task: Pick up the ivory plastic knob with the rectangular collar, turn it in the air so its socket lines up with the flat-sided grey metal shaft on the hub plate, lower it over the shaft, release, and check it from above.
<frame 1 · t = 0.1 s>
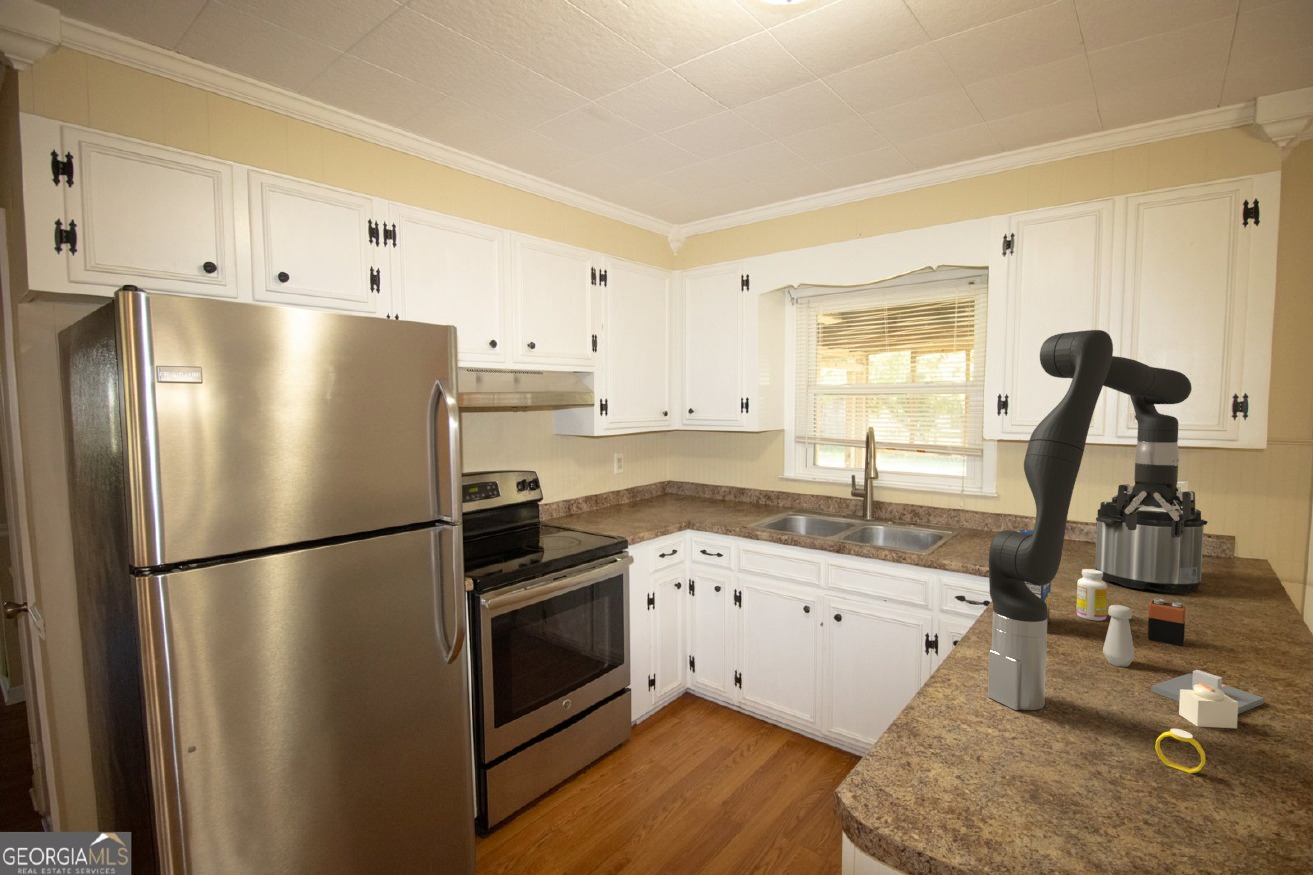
hand: (1153, 533, 138), 29 cm above the countertop, fingers open, 8 cm apart
salt shaker: (1118, 663, 138), on the countertop
knob: (1207, 721, 112), on the countertop
supplement bottle: (1091, 618, 167), on the countertop
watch: (1179, 769, 98), on the countertop
hub plate: (1206, 697, 121), on the countertop
juice carton: (1028, 624, 163), on the countertop
pressure cooker: (1143, 583, 200), on the countertop
battery: (1165, 641, 151), on the countertop
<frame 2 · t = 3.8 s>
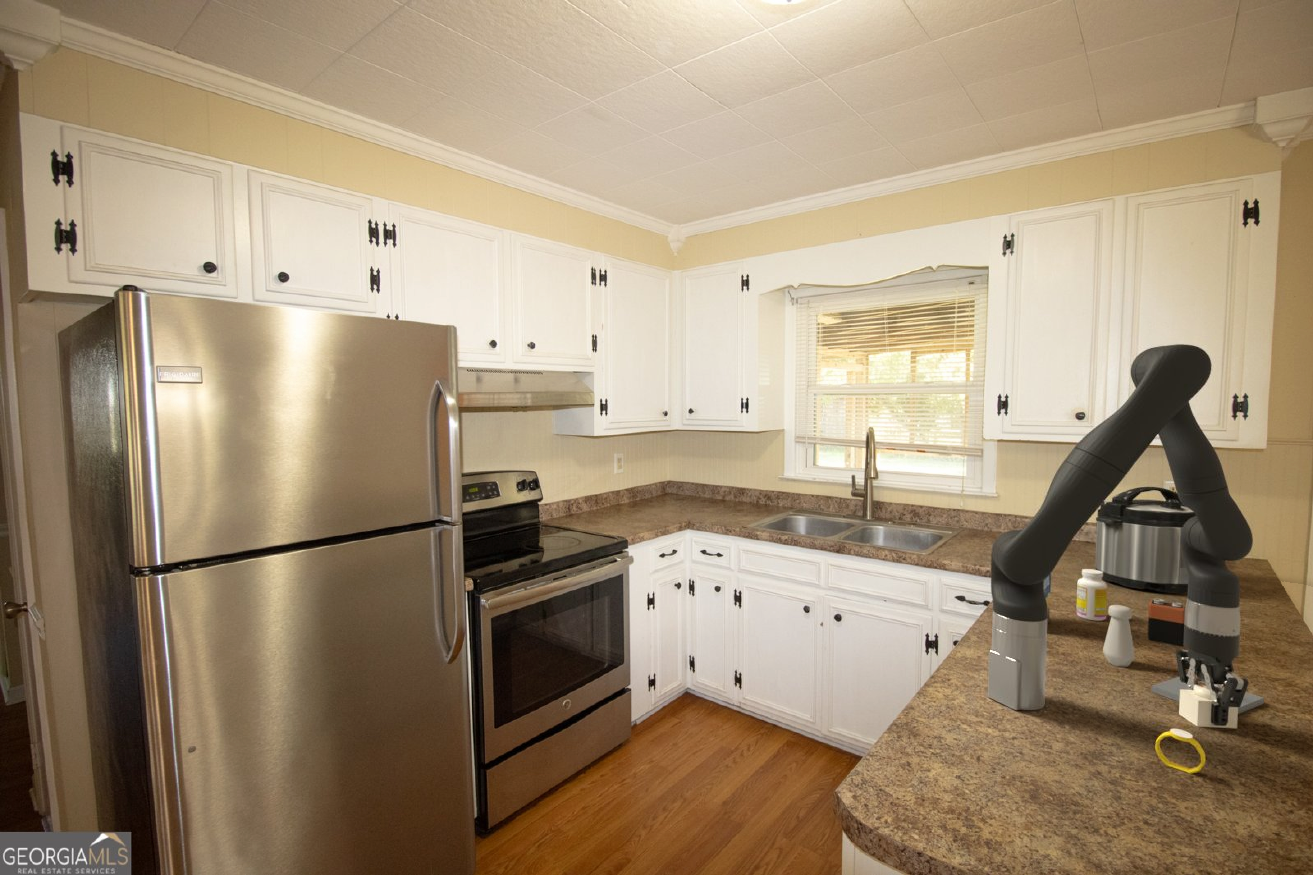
hand: (1207, 717, 112), 1 cm above the countertop, fingers closed on knob, 4 cm apart
knob: (1207, 721, 112), on the countertop, touching gripper
everything else where it was.
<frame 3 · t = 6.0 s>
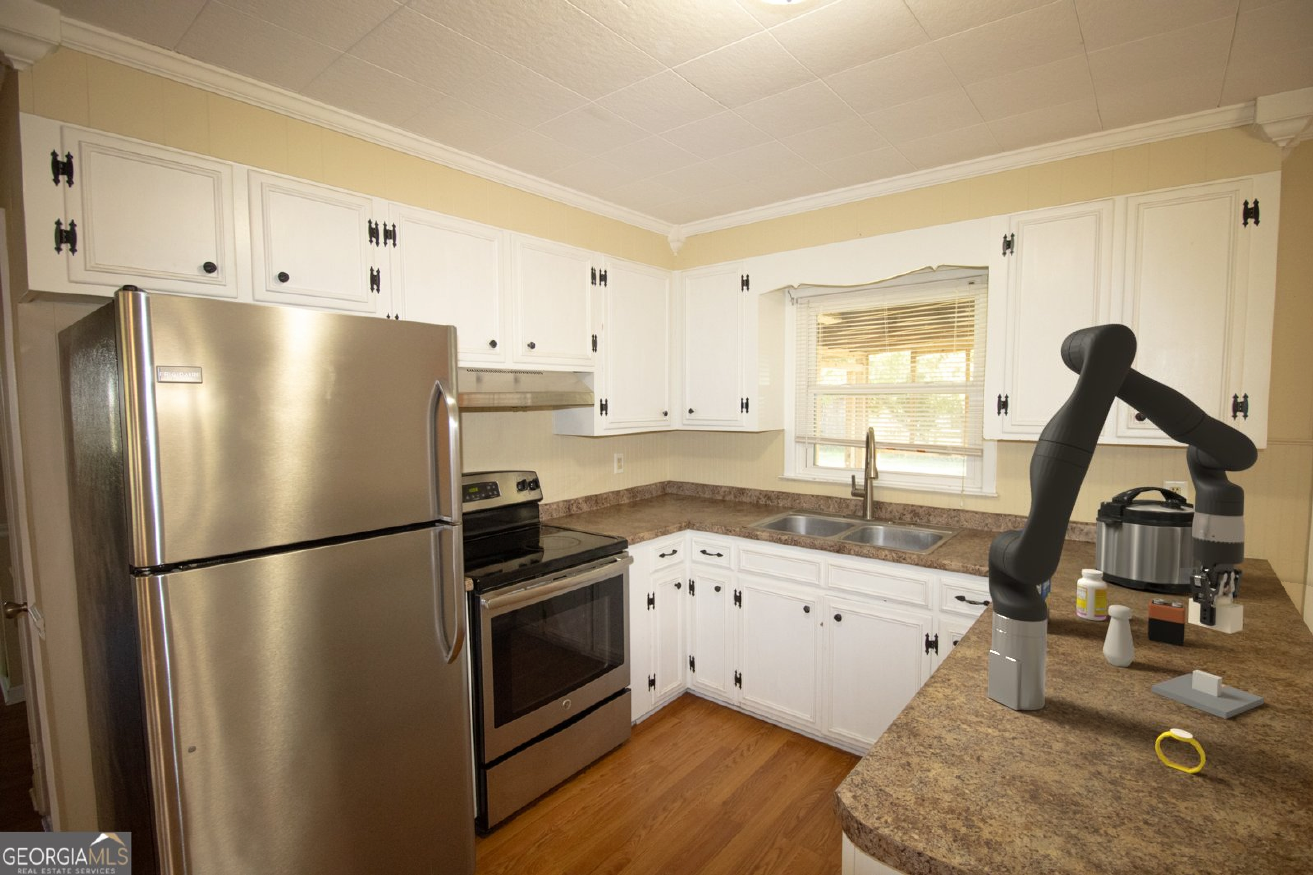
hand: (1214, 622, 119), 16 cm above the countertop, fingers closed on knob, 4 cm apart
knob: (1214, 626, 119), point 15 cm above the countertop, touching gripper
everything else where it was.
when the fingers open (3 cm above the countertop, at t = 8.3 s): knob stays where it is, resting on hub plate.
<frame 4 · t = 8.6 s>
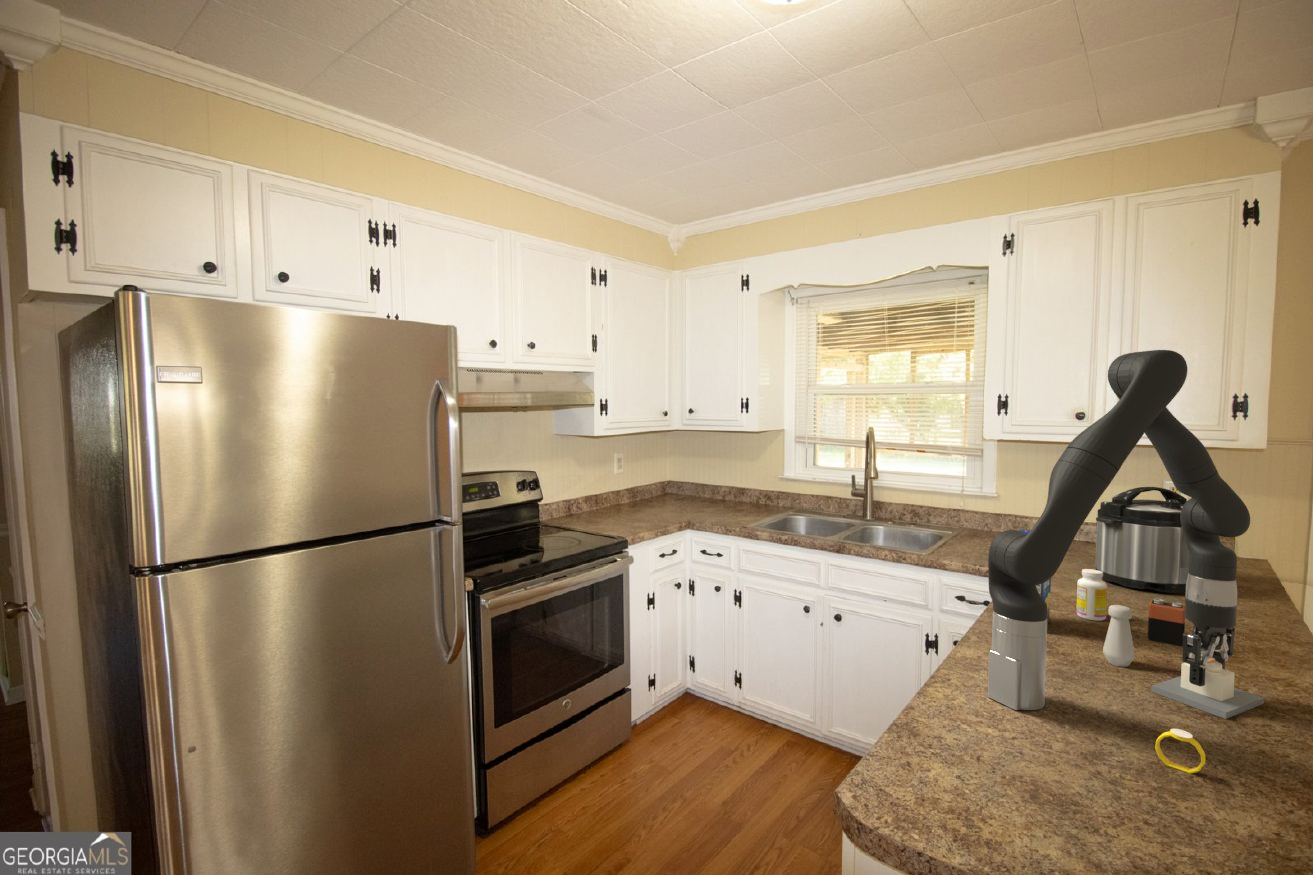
hand: (1206, 681, 121), 3 cm above the countertop, fingers open, 6 cm apart
knob: (1206, 691, 121), point 1 cm above the countertop, touching hub plate
everything else where it was.
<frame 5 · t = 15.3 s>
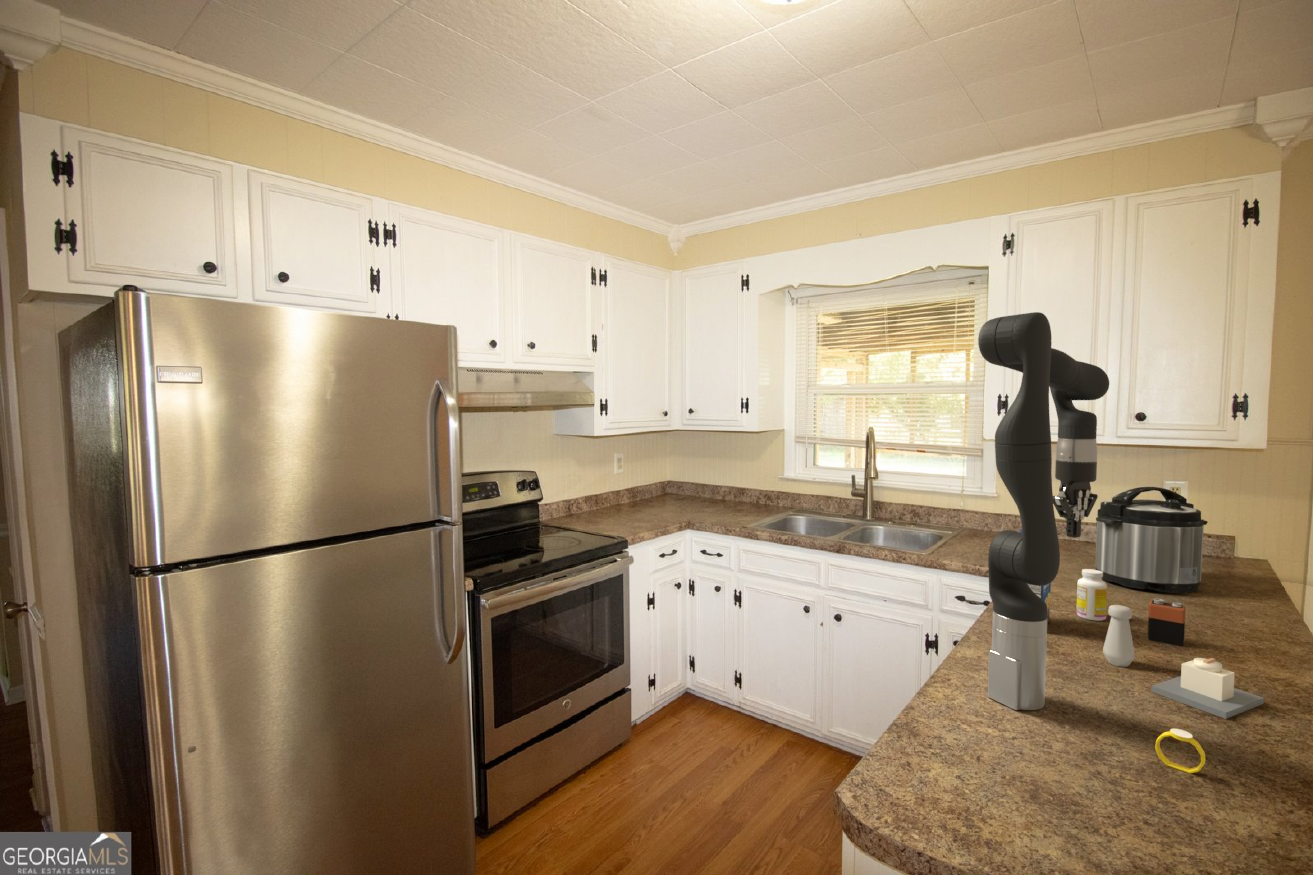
hand: (1073, 536, 135), 29 cm above the countertop, fingers closed
nothing on the countertop moved.
at the end: knob 0.1 cm off-centre on the hub plate, point 1.2 cm above the hub plate's base; knob tilted 0°; the gripper is holding nothing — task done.
